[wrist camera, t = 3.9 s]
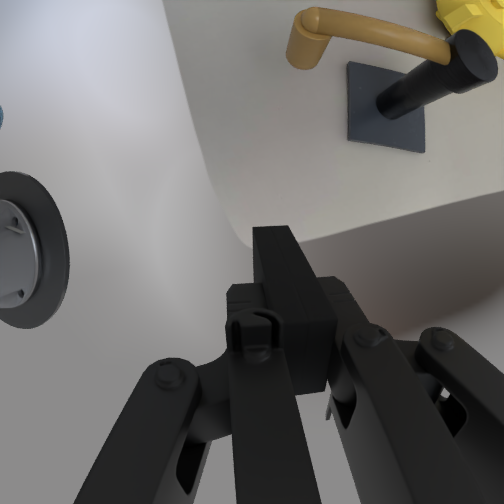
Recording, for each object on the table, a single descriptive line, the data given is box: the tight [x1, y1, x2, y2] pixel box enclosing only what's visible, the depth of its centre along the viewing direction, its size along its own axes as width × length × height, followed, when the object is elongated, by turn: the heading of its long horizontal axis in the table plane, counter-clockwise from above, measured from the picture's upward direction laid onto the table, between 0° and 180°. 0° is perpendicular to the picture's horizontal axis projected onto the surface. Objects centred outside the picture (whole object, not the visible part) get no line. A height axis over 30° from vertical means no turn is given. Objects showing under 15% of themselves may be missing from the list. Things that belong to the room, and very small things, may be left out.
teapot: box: [436, 0, 504, 59], centre depth 24 cm, size 20×18×11 cm
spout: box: [286, 7, 498, 94], centre depth 18 cm, size 16×4×8 cm, turn 87°
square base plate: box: [347, 59, 453, 153], centre depth 25 cm, size 10×10×14 cm
